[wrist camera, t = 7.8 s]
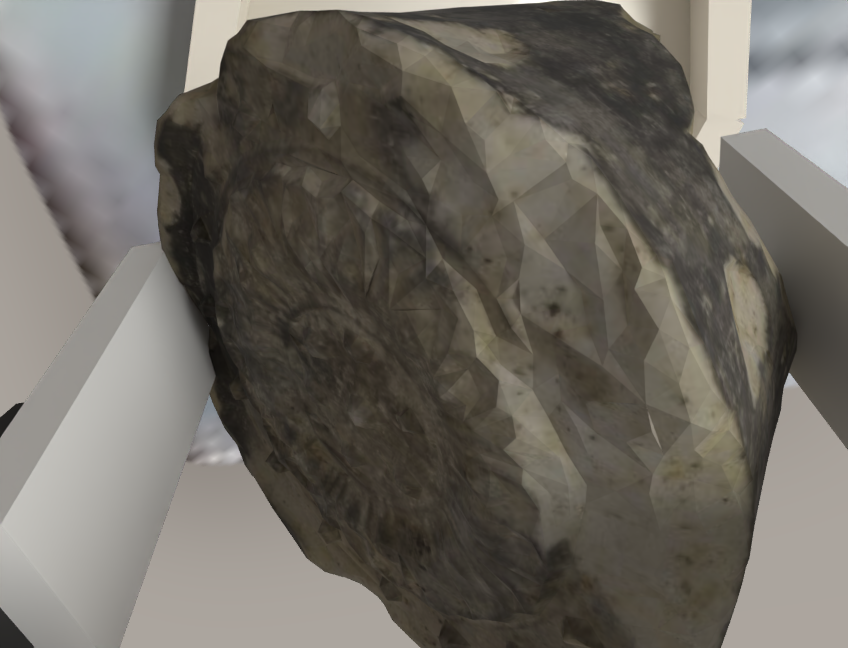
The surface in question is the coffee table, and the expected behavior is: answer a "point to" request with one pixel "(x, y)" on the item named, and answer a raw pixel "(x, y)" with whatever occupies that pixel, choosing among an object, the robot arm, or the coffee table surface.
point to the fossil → (484, 317)
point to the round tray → (646, 3)
